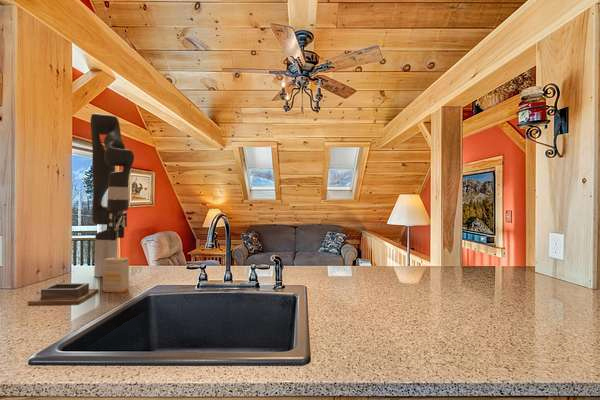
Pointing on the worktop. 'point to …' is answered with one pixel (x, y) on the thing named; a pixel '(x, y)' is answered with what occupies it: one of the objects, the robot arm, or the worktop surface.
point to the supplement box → (115, 274)
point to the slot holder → (64, 294)
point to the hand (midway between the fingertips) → (116, 239)
